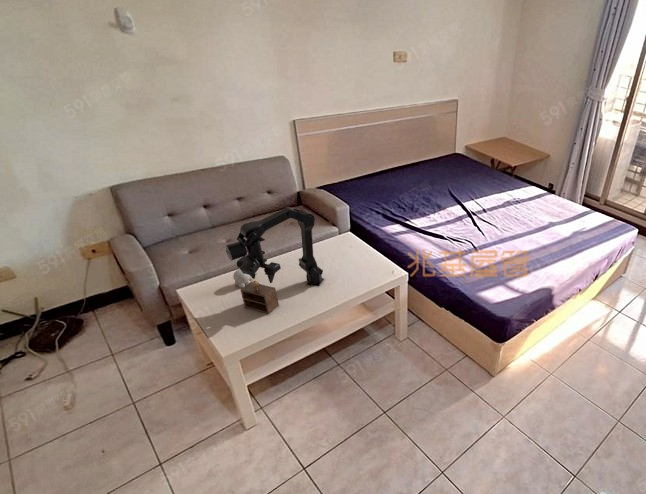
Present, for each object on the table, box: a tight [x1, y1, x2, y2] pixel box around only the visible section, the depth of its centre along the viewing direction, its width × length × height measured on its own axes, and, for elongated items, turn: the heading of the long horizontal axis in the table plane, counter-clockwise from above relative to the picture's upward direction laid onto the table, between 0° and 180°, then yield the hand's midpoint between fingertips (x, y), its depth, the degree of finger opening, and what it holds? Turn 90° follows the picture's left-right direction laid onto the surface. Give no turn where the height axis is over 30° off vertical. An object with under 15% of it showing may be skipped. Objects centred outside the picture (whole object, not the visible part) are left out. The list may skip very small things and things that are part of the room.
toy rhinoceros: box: [232, 269, 259, 289], centre depth 204 cm, size 7×12×8 cm, turn 144°
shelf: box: [239, 280, 280, 315], centre depth 187 cm, size 14×13×7 cm
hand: (262, 280), depth 187 cm, fingers open, 9 cm apart
